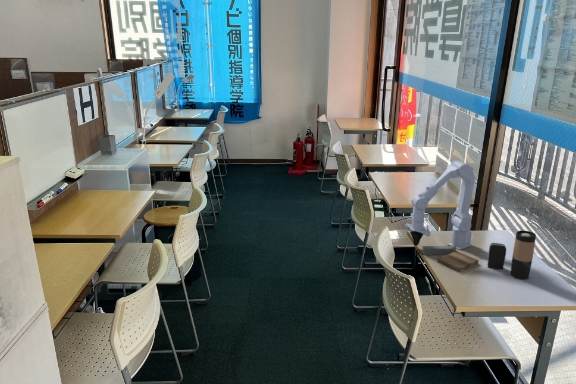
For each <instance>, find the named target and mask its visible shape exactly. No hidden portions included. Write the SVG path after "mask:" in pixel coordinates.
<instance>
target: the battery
mask: <svg viewBox="0 0 576 384" xmlns="http://www.w3.org/2000/svg"><path fill="white" fill-rule="evenodd" d="M506 255H507V247H506V245H505V244H503V243H499V242H498V243H497V242H492V243H490V244H489V247H488V257H487V266H486V267H488V268H493V269H499V270H500V269H501V270H503V269H504V266H505V265H504V264H505V260H506Z"/></svg>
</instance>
